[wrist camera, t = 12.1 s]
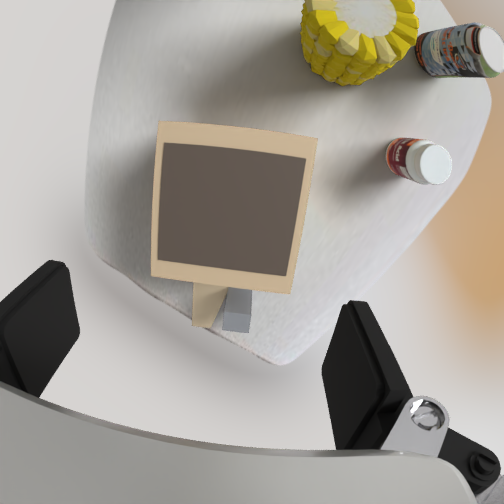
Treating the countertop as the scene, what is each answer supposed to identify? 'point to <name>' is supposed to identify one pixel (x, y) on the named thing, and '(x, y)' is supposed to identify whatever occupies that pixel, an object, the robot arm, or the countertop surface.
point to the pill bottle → (419, 160)
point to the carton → (229, 204)
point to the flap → (210, 301)
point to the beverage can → (461, 51)
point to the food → (356, 37)
